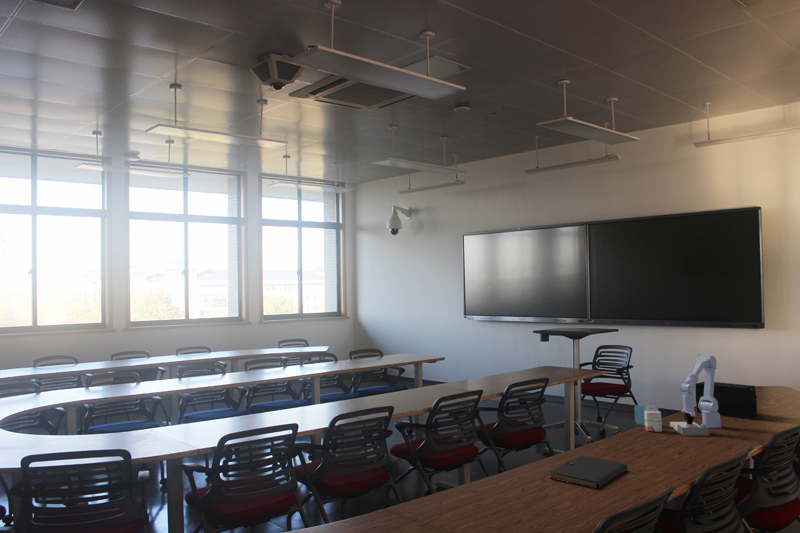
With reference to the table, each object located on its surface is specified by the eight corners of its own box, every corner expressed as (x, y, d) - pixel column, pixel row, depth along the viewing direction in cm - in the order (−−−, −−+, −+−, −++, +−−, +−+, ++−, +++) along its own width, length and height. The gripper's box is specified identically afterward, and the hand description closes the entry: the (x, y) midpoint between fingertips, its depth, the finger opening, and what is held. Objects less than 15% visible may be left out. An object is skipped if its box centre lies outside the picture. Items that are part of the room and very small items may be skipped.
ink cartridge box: (647, 431, 341) (646, 407, 342) (645, 429, 346) (643, 405, 347) (662, 431, 340) (660, 407, 341) (659, 429, 345) (658, 405, 346)
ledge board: (693, 425, 351) (693, 421, 351) (702, 431, 337) (702, 427, 337) (670, 425, 353) (670, 421, 353) (678, 431, 339) (678, 427, 339)
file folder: (580, 454, 287) (627, 463, 270) (580, 462, 287) (628, 472, 270) (548, 470, 263) (598, 481, 246) (549, 479, 263) (599, 491, 246)
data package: (656, 425, 355) (655, 406, 356) (653, 426, 353) (652, 407, 353) (638, 422, 365) (637, 404, 365) (635, 423, 362) (634, 405, 362)
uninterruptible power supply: (707, 409, 397) (706, 380, 398) (760, 416, 370) (758, 385, 371) (696, 412, 388) (694, 383, 389) (749, 420, 360) (747, 389, 362)
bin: (704, 431, 336) (703, 424, 336) (710, 435, 327) (709, 427, 327) (677, 431, 338) (677, 424, 338) (683, 435, 329) (682, 427, 330)
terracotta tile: (694, 427, 337) (694, 424, 337) (698, 429, 332) (697, 426, 332) (686, 427, 338) (685, 424, 338) (689, 429, 333) (688, 426, 333)
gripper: (677, 401, 347) (678, 423, 346) (685, 405, 333) (687, 428, 332) (689, 400, 346) (690, 423, 345) (698, 405, 332) (699, 428, 331)
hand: (689, 425), depth 338 cm, fingers closed
